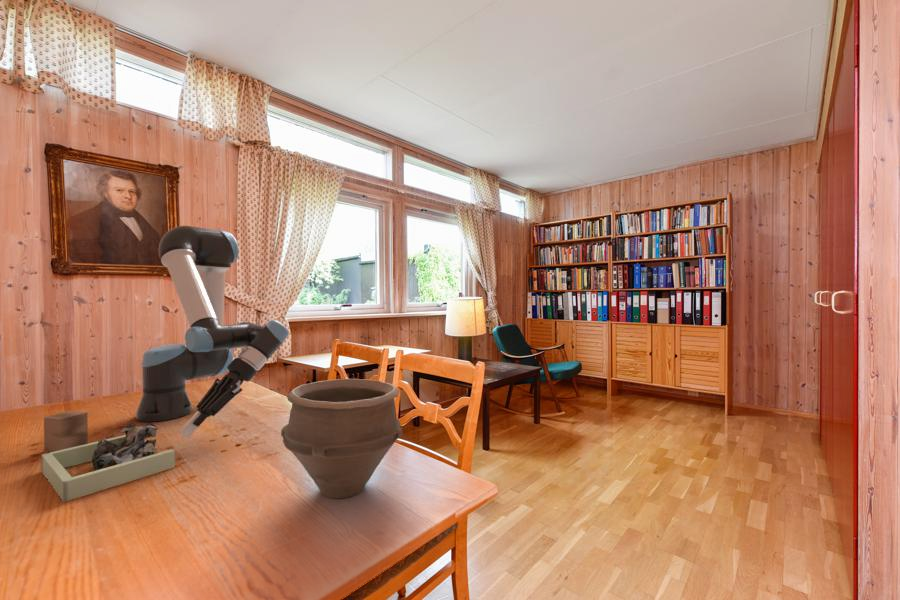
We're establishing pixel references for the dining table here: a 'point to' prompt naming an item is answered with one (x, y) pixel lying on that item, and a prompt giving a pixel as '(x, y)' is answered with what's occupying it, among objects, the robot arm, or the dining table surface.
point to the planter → (341, 431)
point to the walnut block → (65, 430)
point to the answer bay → (99, 478)
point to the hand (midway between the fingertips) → (183, 435)
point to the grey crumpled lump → (140, 449)
